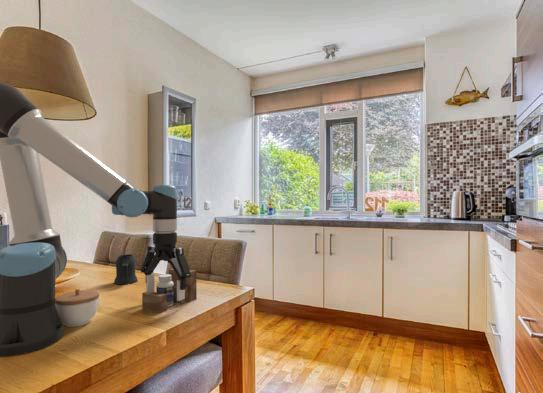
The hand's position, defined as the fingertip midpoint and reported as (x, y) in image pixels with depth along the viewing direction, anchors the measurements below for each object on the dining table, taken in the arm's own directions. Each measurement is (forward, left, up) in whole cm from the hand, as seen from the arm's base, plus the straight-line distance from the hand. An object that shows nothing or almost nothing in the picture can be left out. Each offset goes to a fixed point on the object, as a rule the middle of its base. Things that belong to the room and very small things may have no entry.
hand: (165, 296), depth 104 cm
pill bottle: (0, 0, -3) cm, 3 cm away
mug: (+13, +36, -3) cm, 38 cm away
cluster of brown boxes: (+2, 0, -3) cm, 3 cm away
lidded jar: (-22, +11, -3) cm, 25 cm away
